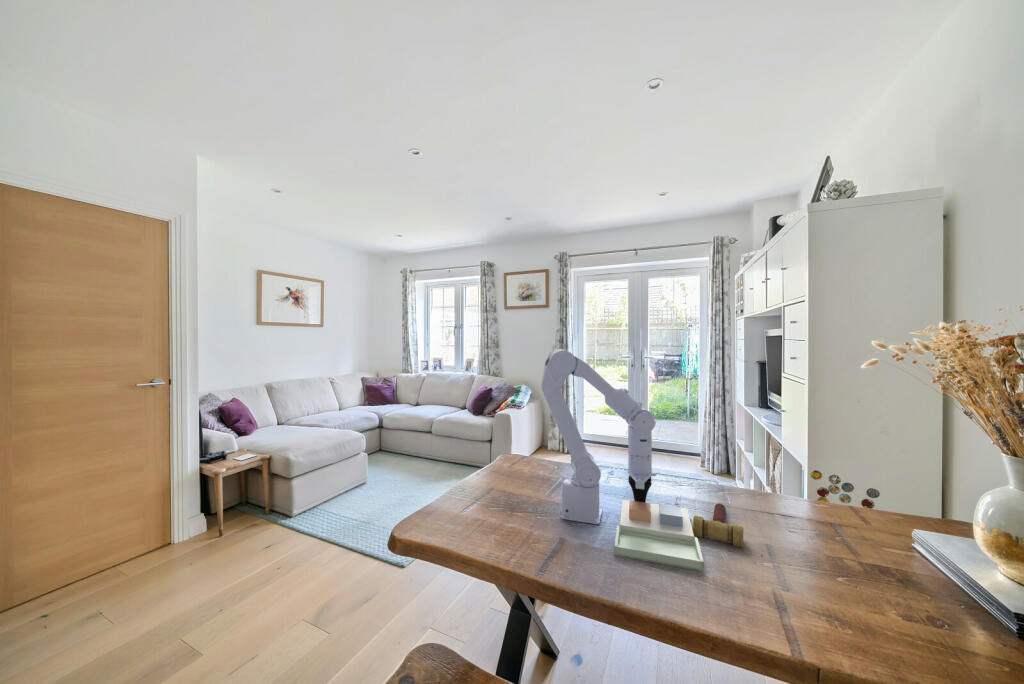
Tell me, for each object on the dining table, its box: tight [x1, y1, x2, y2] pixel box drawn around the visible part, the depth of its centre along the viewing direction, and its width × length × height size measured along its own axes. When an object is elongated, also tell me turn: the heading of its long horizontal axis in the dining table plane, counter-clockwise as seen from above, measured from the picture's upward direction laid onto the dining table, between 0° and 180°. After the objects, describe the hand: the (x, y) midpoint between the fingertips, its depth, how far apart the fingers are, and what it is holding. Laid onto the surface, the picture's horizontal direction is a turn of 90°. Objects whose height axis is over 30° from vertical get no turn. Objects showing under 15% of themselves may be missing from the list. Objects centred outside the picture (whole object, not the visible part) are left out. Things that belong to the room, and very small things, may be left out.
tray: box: [614, 524, 705, 573], centre depth 81 cm, size 17×9×2 cm, turn 71°
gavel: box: [692, 502, 744, 549], centre depth 93 cm, size 21×5×10 cm
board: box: [619, 499, 695, 542], centre depth 92 cm, size 16×14×2 cm
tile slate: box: [658, 503, 683, 527], centre depth 90 cm, size 5×5×2 cm
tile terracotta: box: [629, 500, 651, 522], centre depth 92 cm, size 5×5×2 cm
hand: (639, 505), depth 97 cm, fingers closed
